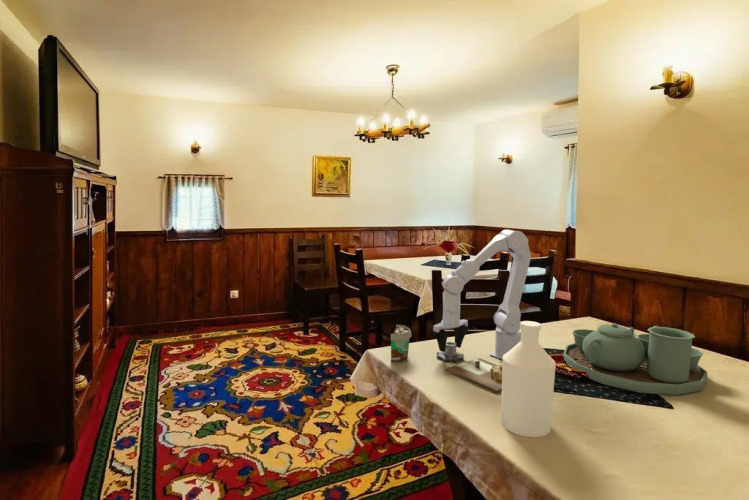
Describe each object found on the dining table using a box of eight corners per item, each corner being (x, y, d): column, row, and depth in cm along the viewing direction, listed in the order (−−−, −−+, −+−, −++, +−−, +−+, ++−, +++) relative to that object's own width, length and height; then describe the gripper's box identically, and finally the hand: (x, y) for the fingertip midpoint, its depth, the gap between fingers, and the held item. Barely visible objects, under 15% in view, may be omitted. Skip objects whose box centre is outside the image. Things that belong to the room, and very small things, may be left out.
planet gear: (450, 351, 157) (450, 337, 156) (469, 358, 149) (469, 344, 149) (431, 356, 152) (431, 342, 151) (450, 364, 144) (450, 349, 144)
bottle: (523, 442, 98) (529, 333, 95) (489, 418, 108) (493, 319, 106) (563, 431, 102) (569, 327, 100) (526, 409, 113) (531, 315, 110)
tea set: (712, 369, 143) (717, 320, 141) (694, 411, 114) (700, 349, 112) (584, 342, 170) (587, 300, 168) (543, 370, 141) (546, 320, 139)
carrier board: (479, 361, 148) (480, 348, 147) (531, 380, 131) (532, 366, 131) (445, 371, 138) (446, 357, 138) (496, 394, 122) (497, 378, 122)
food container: (408, 365, 143) (409, 335, 142) (390, 363, 144) (390, 334, 143) (413, 352, 155) (413, 325, 154) (395, 351, 156) (396, 324, 155)
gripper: (457, 305, 156) (456, 342, 158) (427, 310, 148) (426, 349, 149) (472, 309, 150) (471, 347, 152) (442, 315, 142) (441, 355, 144)
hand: (450, 348), depth 150 cm, fingers open, 7 cm apart
